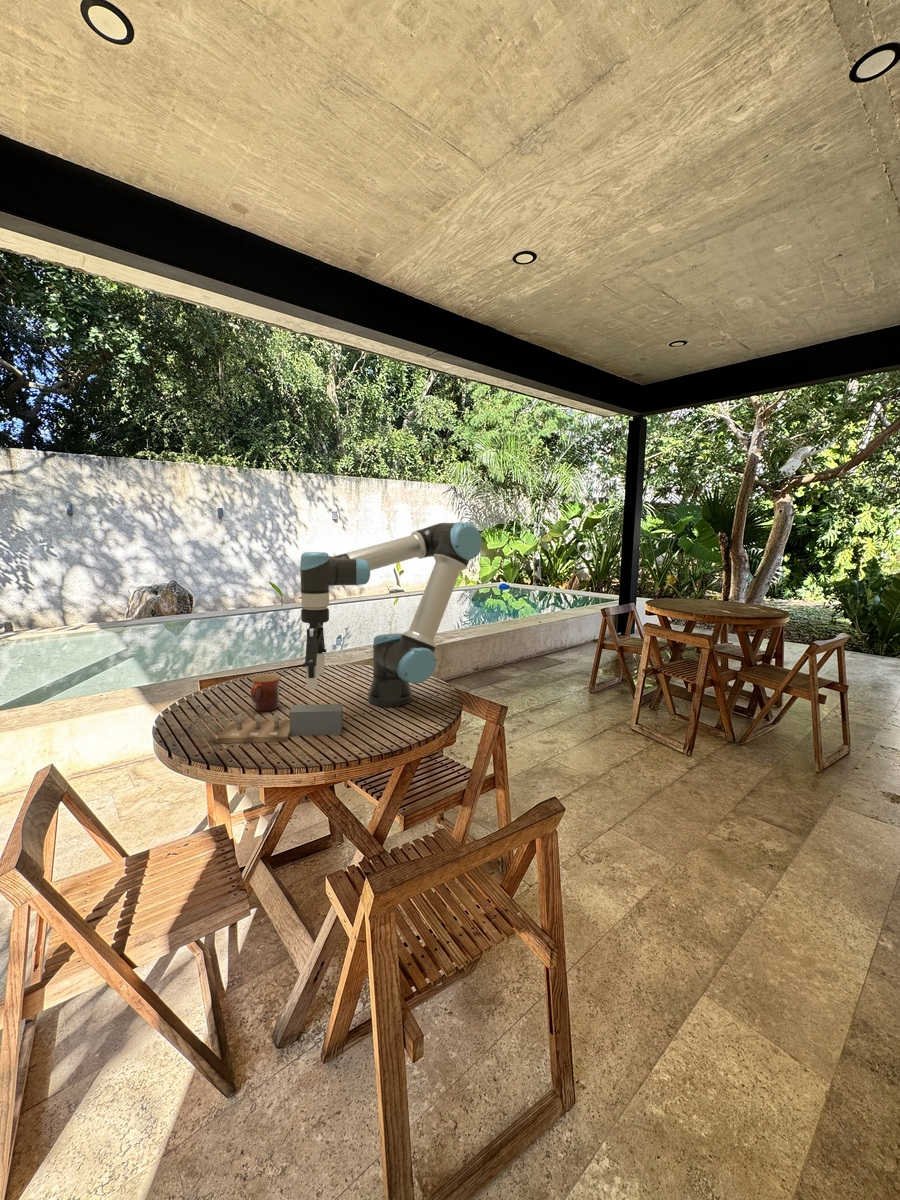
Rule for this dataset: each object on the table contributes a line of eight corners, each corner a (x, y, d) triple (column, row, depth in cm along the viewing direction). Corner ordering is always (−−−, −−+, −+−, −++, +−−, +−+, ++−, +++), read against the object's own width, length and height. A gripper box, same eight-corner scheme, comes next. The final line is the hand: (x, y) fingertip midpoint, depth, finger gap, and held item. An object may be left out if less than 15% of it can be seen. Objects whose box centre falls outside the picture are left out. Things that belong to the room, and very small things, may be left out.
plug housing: (342, 726, 145) (342, 703, 144) (340, 734, 139) (340, 711, 138) (293, 727, 143) (293, 704, 142) (289, 736, 137) (289, 712, 136)
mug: (262, 703, 163) (261, 673, 162) (286, 705, 161) (285, 675, 160) (240, 715, 151) (239, 683, 150) (265, 718, 150) (265, 685, 148)
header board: (295, 724, 145) (294, 707, 144) (286, 741, 133) (286, 722, 133) (231, 726, 143) (231, 708, 142) (217, 743, 131) (216, 723, 130)
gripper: (308, 601, 148) (309, 669, 151) (292, 614, 124) (293, 695, 126) (334, 601, 149) (334, 669, 152) (322, 614, 125) (323, 695, 127)
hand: (315, 681), depth 139 cm, fingers open, 13 cm apart
